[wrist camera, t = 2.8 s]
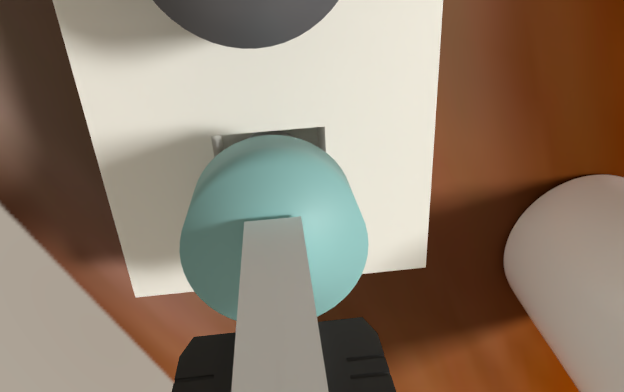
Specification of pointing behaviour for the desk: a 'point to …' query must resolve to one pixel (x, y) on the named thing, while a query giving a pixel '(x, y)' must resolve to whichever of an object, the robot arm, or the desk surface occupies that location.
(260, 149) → the knob
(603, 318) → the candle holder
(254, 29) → the knob mid
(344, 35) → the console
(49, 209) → the desk surface
